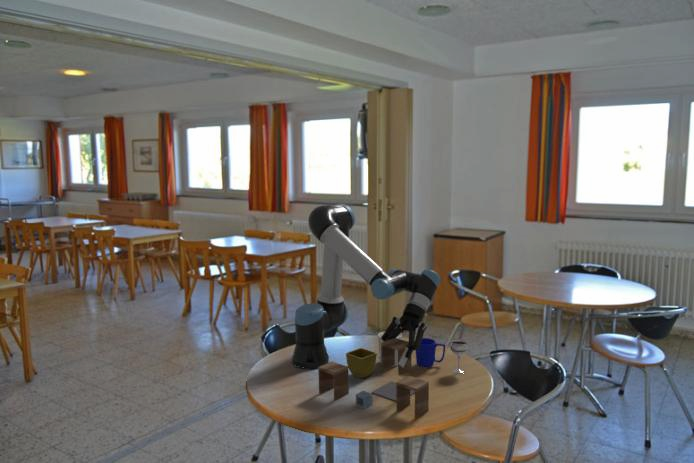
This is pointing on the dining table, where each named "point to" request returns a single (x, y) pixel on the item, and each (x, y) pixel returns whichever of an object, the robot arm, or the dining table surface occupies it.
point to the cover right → (420, 394)
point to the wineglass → (459, 350)
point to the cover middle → (389, 354)
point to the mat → (389, 391)
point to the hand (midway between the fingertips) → (390, 362)
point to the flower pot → (361, 362)
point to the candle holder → (395, 350)
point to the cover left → (334, 379)
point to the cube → (363, 399)
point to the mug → (428, 353)
